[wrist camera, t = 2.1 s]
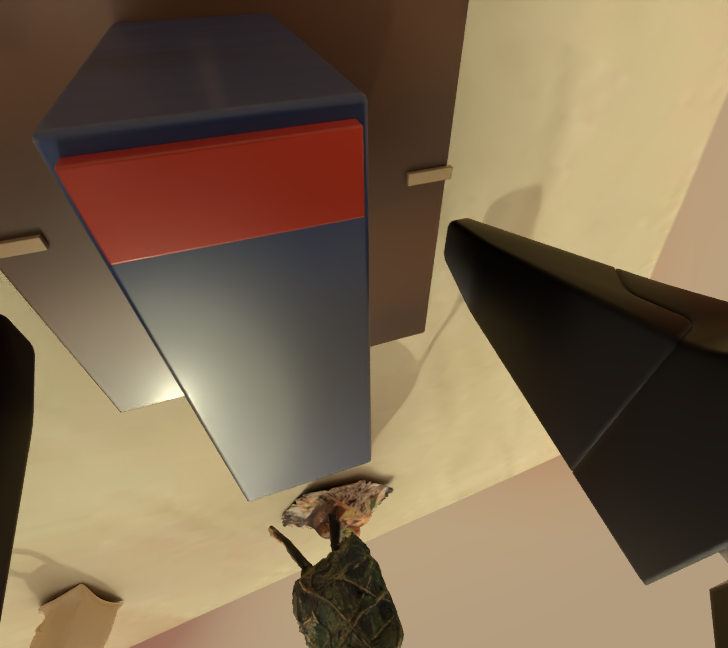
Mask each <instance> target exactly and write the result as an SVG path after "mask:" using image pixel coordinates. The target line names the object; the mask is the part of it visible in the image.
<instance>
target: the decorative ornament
mask: <svg viewBox="0 0 728 648" xmlns="http://www.w3.org/2000/svg"><path fill="white" fill-rule="evenodd" d="M122 605H123V602H120V603H112V602H108V601H104V600H102V599H100V598H98V597H97V596H96V595H94V594H93V593H92V592H91V591H90V590H89V589H88V588H87V587H86V586H85V585H83V584H79V585H78V586H76V587H75V588H73V589H72V590H70V591H68V592H67V593H65V594H63V595H62V596H60V597H58V598H56V599H55V600H53V601H51V602H49V603H46V604H44V605H43V606H42V607H40V608H39V610H38V611H39V612H38V613H41V614H42V615H45V619H44V620H43V622H42V623H41V624H40V625H39V626H38V627H37V628H36V630H35V632H36V635H35V636H34V638H33V640H32V642H31V645H30V648H104V646H105V644H106V642H107V640H108V638H109V635H110V632H111V630H112V627H113V623H114V620H115V617H116V613H117V611H118V610H119V609H120V607H121V606H122Z"/></svg>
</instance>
